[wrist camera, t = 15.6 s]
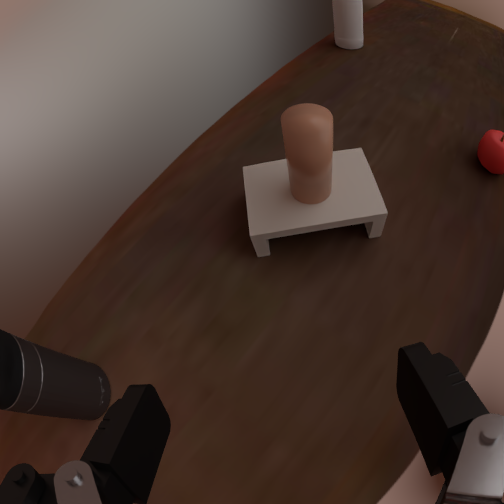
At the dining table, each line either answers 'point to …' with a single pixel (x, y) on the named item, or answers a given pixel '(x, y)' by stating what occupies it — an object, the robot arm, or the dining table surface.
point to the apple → (492, 151)
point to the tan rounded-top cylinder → (308, 151)
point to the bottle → (348, 23)
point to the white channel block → (311, 215)
